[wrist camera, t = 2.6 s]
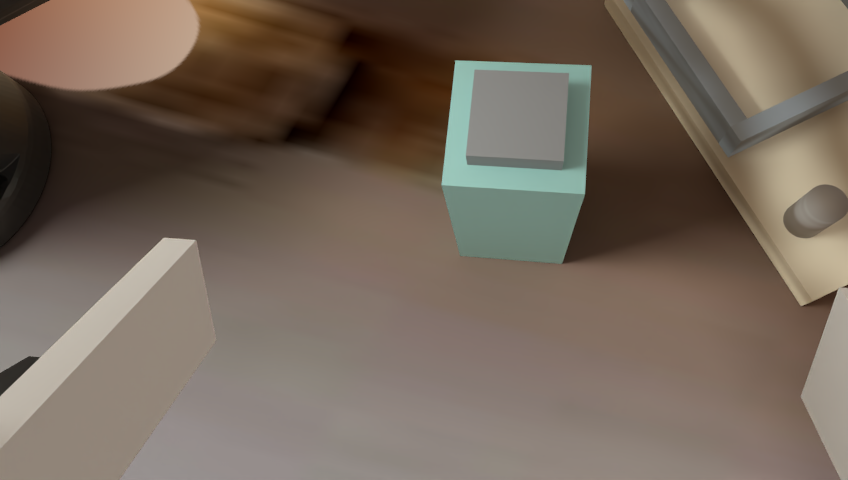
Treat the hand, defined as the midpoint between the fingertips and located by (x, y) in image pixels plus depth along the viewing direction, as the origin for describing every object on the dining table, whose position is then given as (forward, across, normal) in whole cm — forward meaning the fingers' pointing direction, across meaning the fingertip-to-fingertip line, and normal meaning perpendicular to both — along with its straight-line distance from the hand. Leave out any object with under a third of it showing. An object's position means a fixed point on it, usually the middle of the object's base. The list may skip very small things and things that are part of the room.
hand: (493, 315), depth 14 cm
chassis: (+31, +16, -4) cm, 35 cm away
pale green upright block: (+25, 0, -10) cm, 27 cm away
